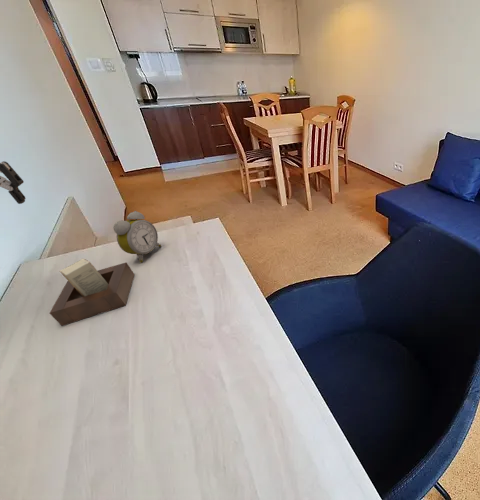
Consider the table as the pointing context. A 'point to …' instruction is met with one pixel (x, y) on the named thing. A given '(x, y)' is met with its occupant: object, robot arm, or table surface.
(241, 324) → the table surface
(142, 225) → the alarm clock
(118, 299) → the socket block
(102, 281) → the cosmetic box
